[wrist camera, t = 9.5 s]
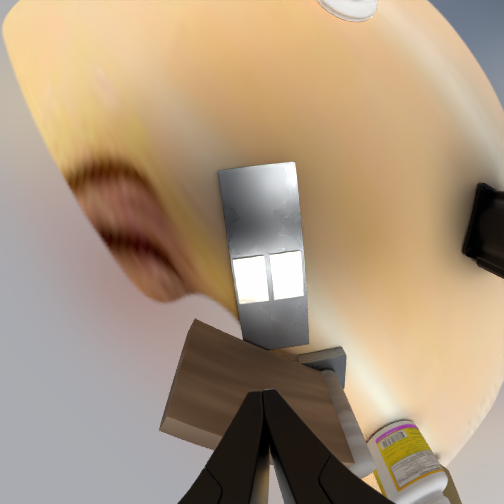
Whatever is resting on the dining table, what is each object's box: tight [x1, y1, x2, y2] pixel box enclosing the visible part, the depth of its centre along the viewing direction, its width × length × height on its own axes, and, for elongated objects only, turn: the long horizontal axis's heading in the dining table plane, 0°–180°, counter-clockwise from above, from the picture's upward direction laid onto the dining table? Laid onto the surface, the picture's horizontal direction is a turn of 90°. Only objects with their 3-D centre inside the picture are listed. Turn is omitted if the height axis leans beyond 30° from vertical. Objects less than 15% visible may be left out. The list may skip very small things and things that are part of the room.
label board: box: [218, 162, 346, 389], centre depth 20 cm, size 8×18×1 cm, turn 7°
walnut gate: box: [159, 319, 376, 479], centre depth 15 cm, size 2×12×9 cm, turn 62°
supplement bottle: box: [367, 421, 451, 504], centre depth 19 cm, size 7×7×13 cm
